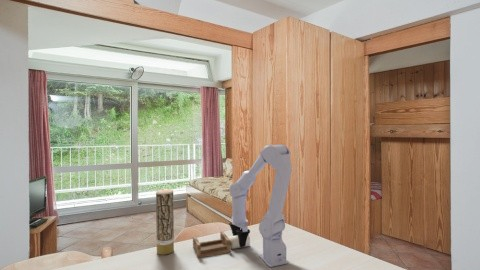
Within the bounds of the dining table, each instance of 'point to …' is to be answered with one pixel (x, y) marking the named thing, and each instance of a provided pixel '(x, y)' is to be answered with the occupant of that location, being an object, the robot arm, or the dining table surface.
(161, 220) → the paper tube
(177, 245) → the dining table surface
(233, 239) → the roll
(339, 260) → the dining table surface
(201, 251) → the holder
